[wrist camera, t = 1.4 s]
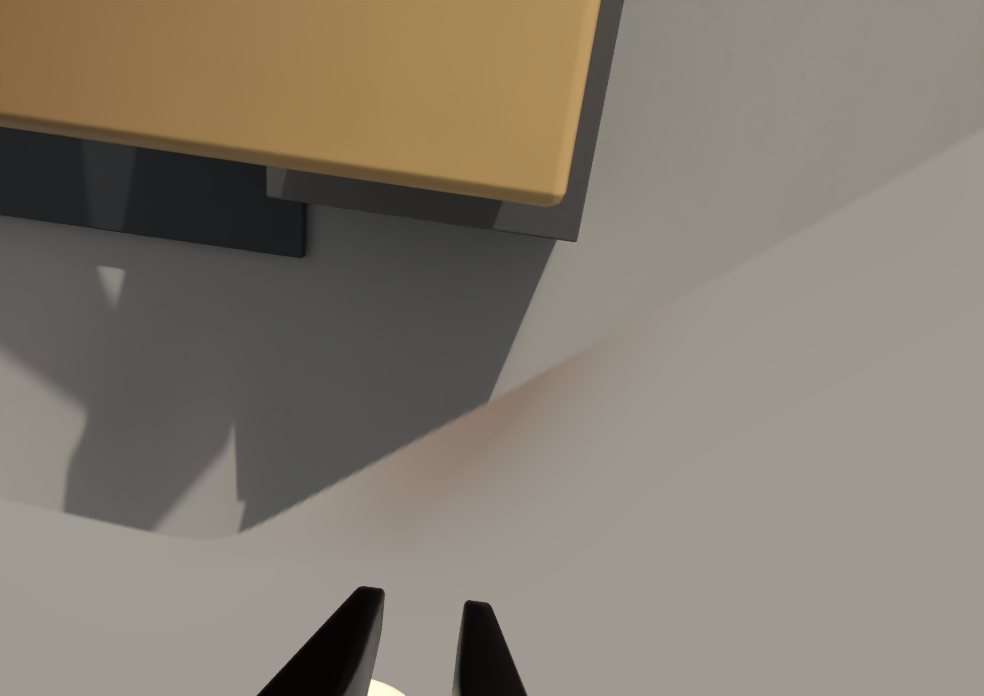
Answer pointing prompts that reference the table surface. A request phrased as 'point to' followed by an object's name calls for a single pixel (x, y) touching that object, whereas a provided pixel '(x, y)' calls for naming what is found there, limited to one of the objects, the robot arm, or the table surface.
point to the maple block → (315, 84)
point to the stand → (471, 209)
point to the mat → (146, 193)
